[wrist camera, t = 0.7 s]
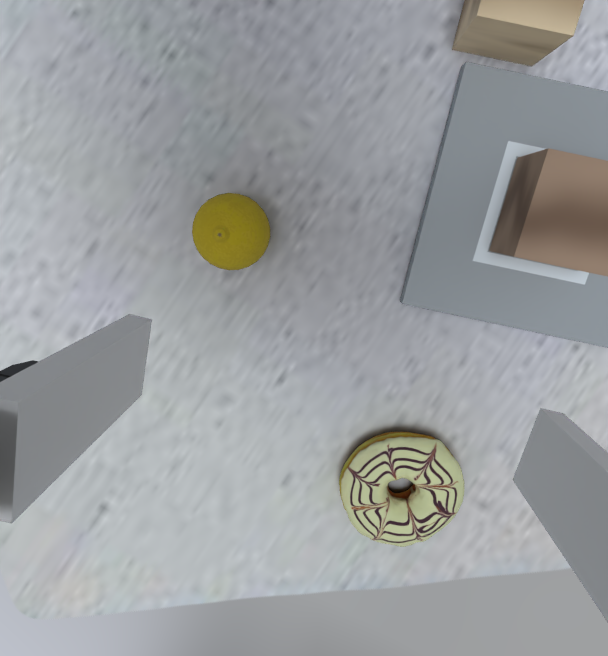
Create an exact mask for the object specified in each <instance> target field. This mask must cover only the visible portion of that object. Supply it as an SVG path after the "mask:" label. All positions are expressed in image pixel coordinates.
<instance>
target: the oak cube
mask: <svg viewBox="0 0 608 656" xmlns="http://www.w3.org/2000/svg"><path fill="white" fill-rule="evenodd" d="M583 4H584V0H464V4H463V8H462V12H461V16H460V20H459V24H458V28H457V32H456V36H455V40H454V44H453V47H452V50H456V51H461V52H466V53H470V54H475V55H480V56H485V57H490V58H494V59H499V60H504V61H509V62H513V63H518V64H523V65H528V66H533V65H534V64H536V63H537V62H539V61H540V60H541V59H543V58H544V57H545V56H547V55H548V54H549V53H551V52H552V51H553V50H555V49H556V48H557V47H559V46H560V45H562V44H563V43H564V42H566V41H567V40H568V39H570V38H571V37H572V36H574V32H575V29H576V26H577V23H578V20H579V16H580V13H581V10H582V7H583Z"/></svg>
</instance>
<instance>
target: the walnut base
mask: <svg viewBox="0 0 608 656" xmlns="http://www.w3.org/2000/svg"><path fill="white" fill-rule="evenodd" d="M489 251H491V252H496V253H500V254H504V255H509V256H513V257H518V258H523V259H527V260H532V261H537V262H541V263H546V264H551V265H555V266H560V267H565V268H570V269H574V270H579V271H584V272H588V273H593V274H598V275H603V276H607V277H608V161H606V160H602V159H597V158H592V157H587V156H583V155H578V154H573V153H568V152H564V151H559V150H554V149H549V148H548V149H545V150H541V151H538V152H535V153H531V154H528V155H525V156H521V157H518V158H517V161H516V164H515V167H514V170H513V174H512V177H511V180H510V184H509V187H508V190H507V193H506V197H505V200H504V203H503V207H502V210H501V213H500V216H499V220H498V223H497V226H496V230H495V233H494V236H493V239H492V243H491V246H490V249H489Z"/></svg>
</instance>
